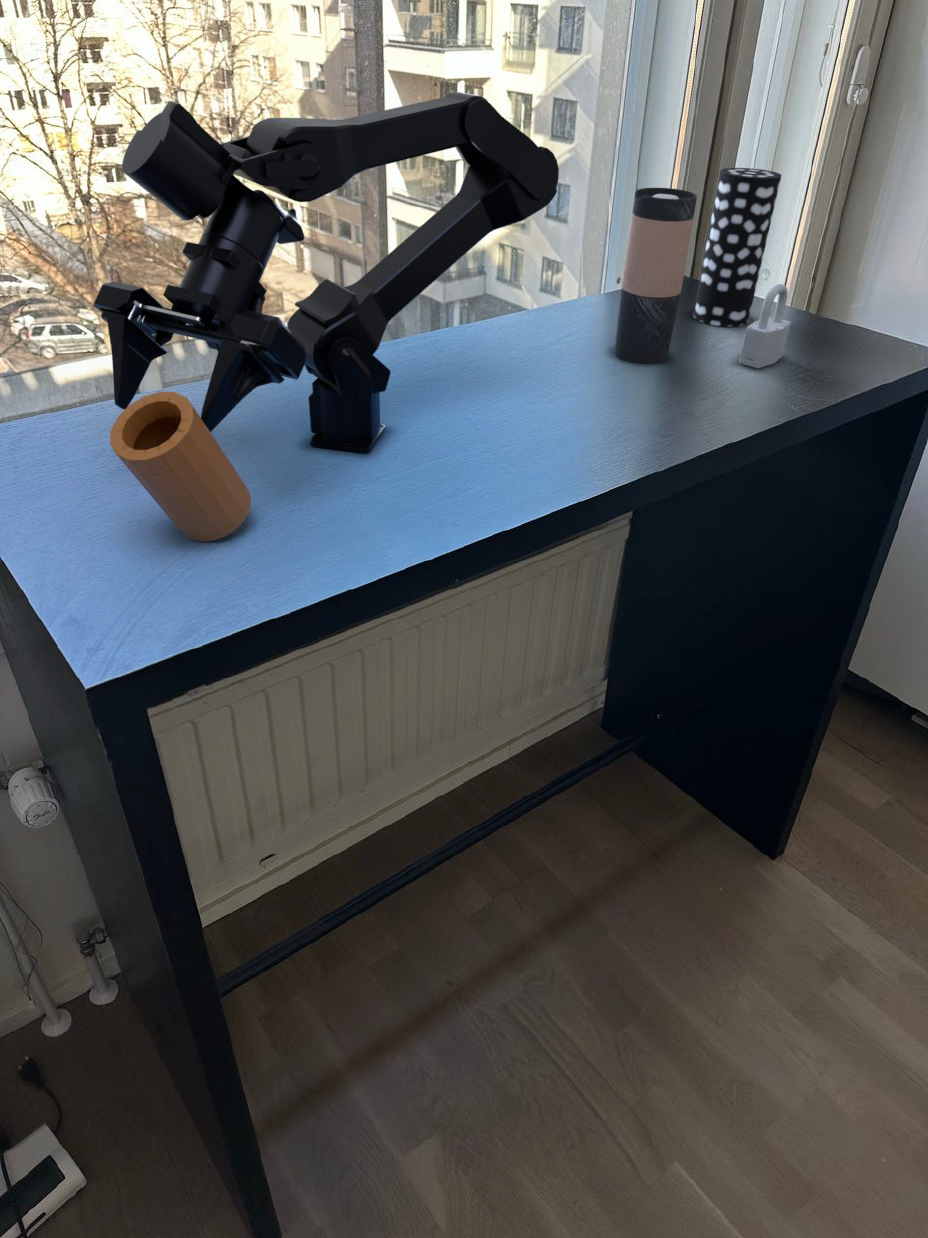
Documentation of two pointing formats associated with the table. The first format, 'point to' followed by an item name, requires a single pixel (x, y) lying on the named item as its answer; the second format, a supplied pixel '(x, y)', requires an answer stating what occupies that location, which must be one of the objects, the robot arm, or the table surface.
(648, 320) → the travel mug
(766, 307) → the padlock
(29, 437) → the table surface
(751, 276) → the white-spotted black cylinder
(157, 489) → the jar
